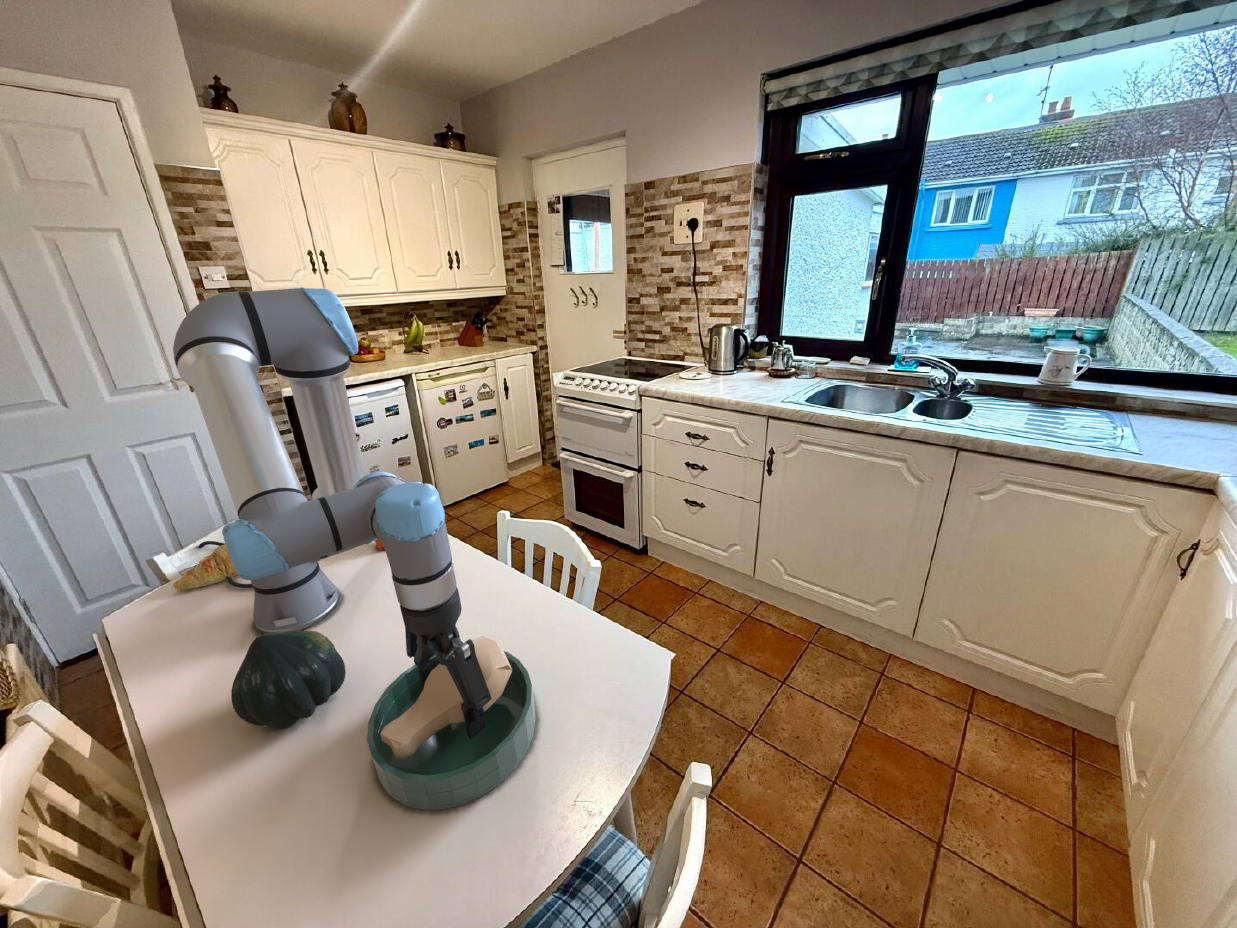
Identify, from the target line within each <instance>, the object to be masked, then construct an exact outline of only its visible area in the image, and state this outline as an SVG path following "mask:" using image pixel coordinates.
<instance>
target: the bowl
mask: <svg viewBox="0 0 1237 928" xmlns="http://www.w3.org/2000/svg"><path fill="white" fill-rule="evenodd" d="M453 650H454V649H453ZM453 650H452V651H453ZM452 651H451V652H452ZM503 651H504V653H505V655H506V657H507V659H508V662H509V664H510V666H511V668H512V673H511V675H510V677H509V680H508V682H507V684H506V686H505V689H504V691H503V693H502V695H501V696H500V697H499V698H498V699H497V700H496V701H495V702H494V703H493V704H492V705H491V706H490V707H489V708H488V709H487V710H486V711H485V712H484V716H485V721H486V727H485V728H484V729H483V730H481V731H480V732H479V733H478V734H477V735H476V736H475V737H474V738H472V739H470V738H469V737H468V734H467V729H466V725H465V722H457V723H452V724H450V725H448V726H446V727H445V728H443V729H441V730H439V731H438V732H436V733H435V734H434V735H433V736H431V737H430V738H429V739H428V740H427V741H425V742H424V743H423V744H422V745H421V746H419V747H418V749H417V750H416V751H415V752H414V754H413V755H411V756H410V757H408V758H407V759H405V760H402V759H397V758H395V756H394V754H393V751H392V749H391V746H389V745H388V744H386V743H385V742H383V741H382V738H381V732H382V730H383V728H384V727H385V726H386V725H387V724H389V723H390V722H392V721H393V720H395V719H397V718H399V717H400V716H401V715H402V714H404V713H405V712H406V711H407V710H408V709H409V708H410V707H411V706H413V705H414V704H415V703H416V702H417V700H418V698H419V696H420V695H421V693H422V691H423V686H422V682H421V678H420V674H419V670H418V668H419V666H416V665H415V664H413V665H412V666H410V667H409V668H407V669H406V670H404V671H403V672H402V673H401V674H400V675H399V676H398V677H396V678H395V679H394V680H393V681H392V682H391V683H390V684H389V685H388V686H387V687H386V688H385V689H384V691H383V692H382V694H381V696H380V697H379V698H378V700H377V701H376V703H375V704H374V706H373V709H372V711H371V714H370V717H369V719H368V722H367V731H366V733H367V734H366V743H367V746H368V749H369V752H370V756H371V758H372V759H371V760H372V762H373V765H374V767H375V771H376V773H377V776H378V777H377V778H378V780H379V782H380V785H381V786H382V787H383V789H384V790H385V792H386V793H387V794H388V795H389V796H390V797H391V798H392V799H394V800H395V801H397V802H399V804H402V805H404V806H407V807H410V808H413V809H417V810H424V811H425V810H427V811H437V810H438V811H439V810H446V809H450V808H451V809H452V808H455V807H459V806H462V805H465V804H468V803H470V802H473V801H474V800H477V799H479V798H481V797H483V796H484V795H486V794H487V793H489V792H490V791H492V790H493V789H494V788H496V787H497V786H499V785H501V783H502V782H503V781H505V780H506V779H507V778H508V777H509V776H510V775H511V774H512V773H513V772H514V770H515V769H516V768H517V767H518V765H519V764H520V762H521V761H522V760H523V758H524V757H525V755H526V753H527V751H528V750H529V747H530V745H531V742H532V740H533V736H534V732H535V727H536V705H535V704H536V703H535V698H534V690H533V684H532V681H531V677H530V674H529V671H528V670H527V668H526V667H525V666H524V664H523V663H522V662H521V660H520V659H518V658H517V657H516V656H514V655H513V654H511V653H510V652H508V651H506V650H503ZM451 652H449V653H448V654H446V655H444V656H445V658H446V657H447V656H448V655H449V654H450V653H451ZM433 658H435V659H436V660H437V664H438V665H439V664H440V662H439V660H438V658H437V656H436V654H435V655H434V656H432V657H431V658H430V660H431V659H433Z"/></svg>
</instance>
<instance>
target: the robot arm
mask: <svg viewBox="0 0 1237 928" xmlns="http://www.w3.org/2000/svg"><path fill="white" fill-rule="evenodd" d="M172 353H173V361H174V363H175V367H176V369H177V373H178V375H179V377H180V379H181V380H182V381H183V382H184V383H185V384H187V385H188V386H190V387H192V388H193V391H194V394H195V397H196V400H197V403H198V405H199V408H200V411H201V414H202V417H203V420H204V422H205V425H206V428H207V431H208V434H209V437H210V440H211V443H212V445H213V446H212V447H213V448H214V451H215V454H216V457H217V461H218V463H219V466H220V468H221V471H222V474H223V477H224V479H225V483H226V486H227V489H228V491H229V494H230V497H231V500H232V503H233V506H234V509H235V512H236V514H237V517H238V519H236V520H235V521H232V522H230V523H227V524H225V525H224V526H223V527H222V530H221V533H222V536H223V541H224V542H220V541H216V540H206V541H202V542H200V543H199V544H198V549H202V548H204V547H205V546H209V545H210V546H211V545H212V546H216V547H217V546H218V547H219V546H221V545H224V544H226V547H227V550H228V553H229V556H230V558H231V561H232V563H233V566H234V568H235V570H236V572H237V574H238V575H237V576H238V577H239V578H241V580H245V581H250V583H239V582H237V581H234V580H233V577H232V578H231V577H226V579H227V580H226V581H227V583H228V584H229V585H230V586H232V587H235V588H240V589H253V591H254V600H253V614H252V615H253V622H254V624H255V628H256V629H257V631H258V632H259V633H261V634H263V635H264V634H270V633H280V632H290V631H304V630H305V629H308V628H310V627H312V626H314V625H316V624H318V623H320V622H321V621H323V620H324V619H325V618H327V617H328V616H329V615H330V614H332V612H334V610H335V609H336V608H337V607H338V605H339V603H340V593H339V590H338V588H337V586H336V585H335V584H334V582H333V581H332V580H331V579H330V578H329V577H328V576H327V574H326V573H325V572H324V571H323V570H322V569H321V567H320V564H319V563H320V562H319V561H322V560H324V559H327V558H331V557H333V556H336V555H338V554H342V553H345V552H347V551H350V550H351V551H352V550H353V549H356V548H359V547H362V546H364V545H370V544H371V543H373V542H375V540H378V539H379V540H380V541H381V542H382V544H383V545H384V548H385V550H384V551H385V553H386V557H387V560H388V564H389V567H390V571H391V579H392V583H393V587H394V591H395V595H396V599H397V602H398V604H399V608H400V612H401V616H402V620H403V625H404V632H405V651H406V656H407V657H408V658H409V659H411V658H413V663H414V665H416V666H419V668H418V670H419V674H420V678H421V682H422V686H423V689H424V685H425V682H426V680H427V678H428V676H429V674H430V672H431V671H432V670H433V669H434V668H435V667H436V666H438V664H437V660H436V659H435V658H433V659H431V660H430V658H431V657H432V656H434V655H435V654H436V656H437V658H438V660H439V662H440V664H441V665H445V666H446V667H447V669H448V671H449V673H450V675H451V677H452V679H453V681H454V683H455V685H456V687H457V689H458V691H459V693H460V695H461V697H462V699H463V701H464V702H463V703H462V704H461V706H462V707H461V710H462V711H463V715H464V720H465V725H466V729H467V734H468V737H469V738H470V739H472V738H474V737H475V736H476V735H477V734H478V733H479V732H480V731H481V730H483V729H484V728H485V727H486V721H485V716H484V710H483V706H484V705H485V704H487V703H488V702H489V701H490V700H491V699H492V698H491V695H490V692H489V689H488V687H487V684H486V681H485V678H484V676H483V673H482V670H481V668H480V665H479V662H478V659H477V657H476V654H475V647H474V643H473V641H472V639H471V638H469V639H467V640H466V642H465V641H463V640H462V638H461V636H460V632H459V630H458V627H457V623H458V620H459V619H460V616H461V615H462V614H461V613H462V611H463V609H462V602H461V597H460V591H459V589H458V588H459V587H458V583H457V579H456V574H455V568H454V564H455V560H453V558H452V550H451V547H450V546H451V545H450V540H449V535H448V529H447V523H446V514H445V513H446V511H445V508H444V506H443V504H442V500H441V497H440V493H439V491H438V489H437V488H436V487H435V486H434V485H432V484H430V483H427V482H425V483H422V482H420V481H409V482H407V481H406V480H404V479H402V478H401V477H399V476H396V475H395V474H393V473H390V472H386V471H375V472H371V473H367V474H366V475H365V473H364V468H363V463H362V458H361V454H360V448H359V443H358V440H357V434H356V430H355V425H354V420H353V416H352V410H351V405H350V401H349V397H348V396H349V395H348V392H347V391H348V390H347V386H346V383H345V381H346V380H345V378H344V376H345V374H346V373H347V372H348V371H350V368H351V360H350V356H351V357H354V356H355V355H357V354H358V353H359V343H358V339H357V335H356V331H355V329H354V326H353V323H352V321H351V319H350V317H349V314H348V311H346V308H345V306H344V304H343V303H342V301H341V299H340V297H338V295H336V293H334V292H333V291H332V290H330V289H328V288H313V287H311V288H308V287H307V288H306V287H296V288H280V289H268V290H267V289H266V290H265V289H264V290H254V291H253V290H251V291H227V292H221V293H217V294H216V295H212V296H210V297H207V298H205V299H204V300H202V301H201V302H199V303H198V304H197V305H196V306H194V307H193V308H192V309H191V310H189V312H188V313H187V314H186V315H185V317H184V318H183V319H182V321H181V323H180V325H179V326H178V328H177V331H176V333H175V337H174V341H173V348H172ZM266 366H267V367H268V366H273V368H274V371H275V373H276V375H277V376H279V377H281V378H283V379H285V380H287V381H288V383H289V386H290V390H291V394H292V397H293V401H294V404H295V405H294V406H295V408H296V412H297V417H298V420H299V423H300V426H301V430H302V434H303V438H304V441H305V446H306V449H307V453H308V456H309V459H310V464H311V467H312V471H313V474H314V478H315V483H316V485H317V488H316V489H314V490H313V493H312V494H311V499H310V500H308V499H307V497H306V494H305V492H304V488H303V487H302V484H301V481H300V480H299V476H298V474H297V472H296V470H295V467H294V465H293V463H292V461H291V458H290V456H289V453H288V451H287V450H288V449H287V448H286V446H285V443H284V441H283V439H282V436H281V433H280V430H279V428H278V426H277V423H276V422H275V419H274V416H273V413H272V412H271V409H270V406H269V404H268V402H267V399H266V397H265V395H264V392H263V390H262V387H261V385H260V383H259V380H258V378H257V376H258V375H259V373H260V367H266ZM453 649H454V650H453ZM452 650H453V653H452V654H450V655H449V656H448V657H446V658H445V656H444V655H446V654H448V653H449V652H451V651H452Z"/></svg>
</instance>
